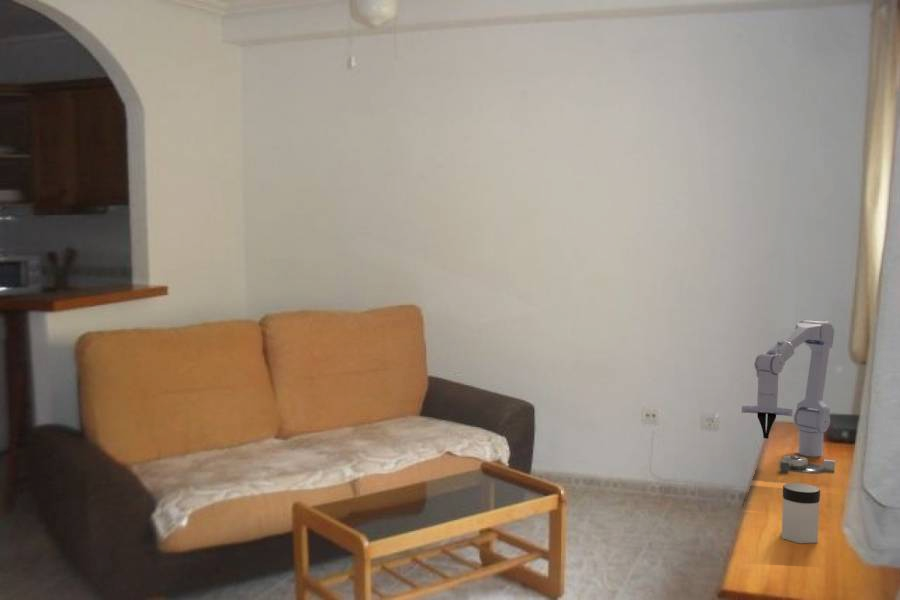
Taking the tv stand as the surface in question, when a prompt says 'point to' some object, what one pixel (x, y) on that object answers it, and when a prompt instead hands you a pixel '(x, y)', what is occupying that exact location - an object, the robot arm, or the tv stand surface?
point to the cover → (796, 462)
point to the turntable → (818, 467)
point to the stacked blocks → (784, 466)
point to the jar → (800, 513)
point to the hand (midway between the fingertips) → (765, 437)
